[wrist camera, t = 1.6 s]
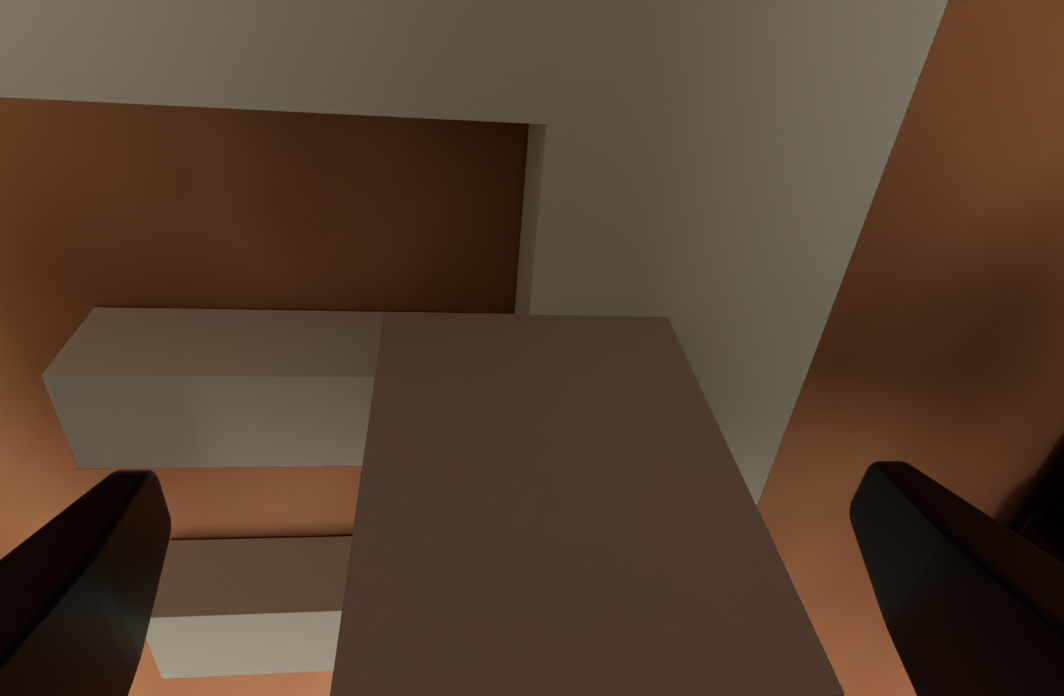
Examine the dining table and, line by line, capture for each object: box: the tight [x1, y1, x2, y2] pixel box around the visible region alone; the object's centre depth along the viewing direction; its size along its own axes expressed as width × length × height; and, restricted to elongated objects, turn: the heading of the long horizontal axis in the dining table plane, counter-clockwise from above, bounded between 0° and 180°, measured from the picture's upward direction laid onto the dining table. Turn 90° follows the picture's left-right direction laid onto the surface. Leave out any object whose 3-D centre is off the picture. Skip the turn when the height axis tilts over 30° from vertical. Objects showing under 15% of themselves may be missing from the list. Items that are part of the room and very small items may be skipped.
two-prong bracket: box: [0, 0, 948, 696], centre depth 8 cm, size 10×12×7 cm
